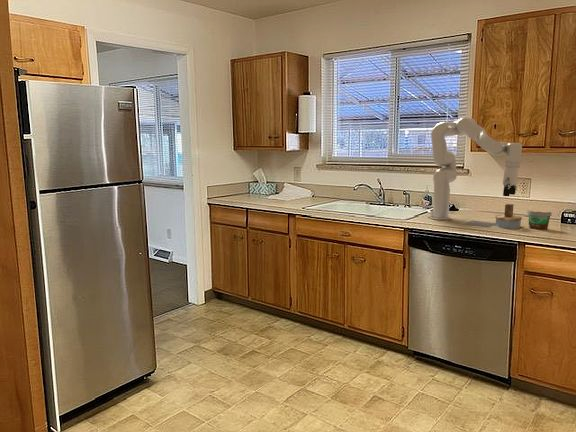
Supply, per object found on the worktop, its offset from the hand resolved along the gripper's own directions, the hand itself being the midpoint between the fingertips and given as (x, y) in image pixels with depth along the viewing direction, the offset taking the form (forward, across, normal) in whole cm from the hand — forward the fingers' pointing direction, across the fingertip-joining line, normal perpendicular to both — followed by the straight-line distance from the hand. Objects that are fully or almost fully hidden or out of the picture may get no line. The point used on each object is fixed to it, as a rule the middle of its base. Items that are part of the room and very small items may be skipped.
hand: (509, 195), depth 267 cm
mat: (+19, +3, -13) cm, 23 cm away
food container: (+18, -6, +15) cm, 25 cm away
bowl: (+18, 0, +1) cm, 18 cm away
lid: (+13, 0, +1) cm, 13 cm away
